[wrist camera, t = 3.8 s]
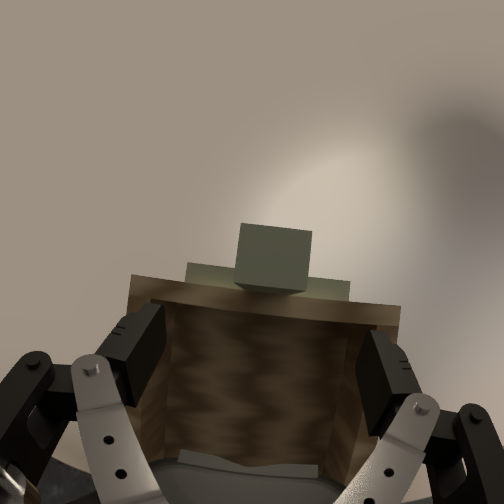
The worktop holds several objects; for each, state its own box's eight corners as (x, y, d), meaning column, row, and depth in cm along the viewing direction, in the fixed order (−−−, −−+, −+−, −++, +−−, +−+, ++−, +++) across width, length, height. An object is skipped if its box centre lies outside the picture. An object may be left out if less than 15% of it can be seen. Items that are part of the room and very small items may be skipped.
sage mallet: (131, 268, 13) (141, 213, 14) (203, 287, 30) (206, 261, 31) (405, 300, 13) (408, 244, 13) (327, 301, 30) (330, 276, 30)
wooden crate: (130, 566, 17) (131, 274, 22) (152, 525, 26) (166, 282, 31) (319, 590, 16) (401, 305, 21) (310, 545, 25) (364, 305, 30)
